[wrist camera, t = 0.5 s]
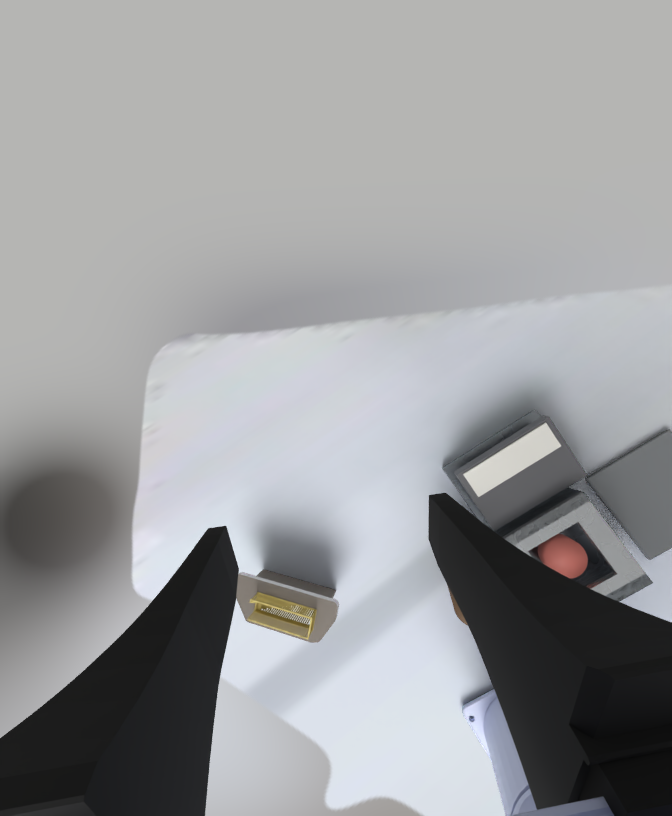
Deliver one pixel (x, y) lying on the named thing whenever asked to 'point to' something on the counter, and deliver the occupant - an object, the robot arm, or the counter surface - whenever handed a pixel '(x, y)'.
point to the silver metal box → (564, 528)
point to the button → (563, 555)
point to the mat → (641, 493)
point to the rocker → (520, 472)
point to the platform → (287, 604)
